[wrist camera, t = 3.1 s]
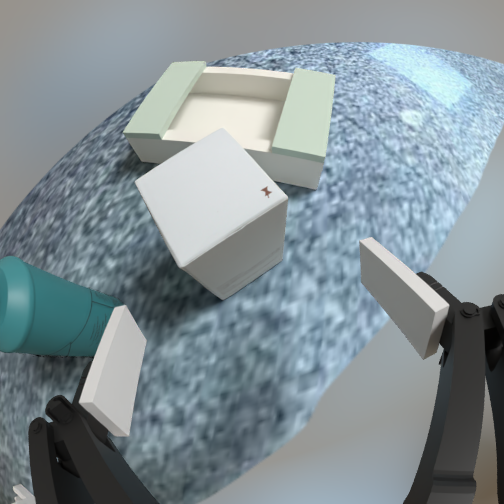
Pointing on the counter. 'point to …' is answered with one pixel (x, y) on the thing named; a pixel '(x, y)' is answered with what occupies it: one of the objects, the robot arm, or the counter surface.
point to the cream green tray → (239, 116)
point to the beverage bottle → (49, 312)
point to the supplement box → (217, 213)
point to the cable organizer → (23, 495)
